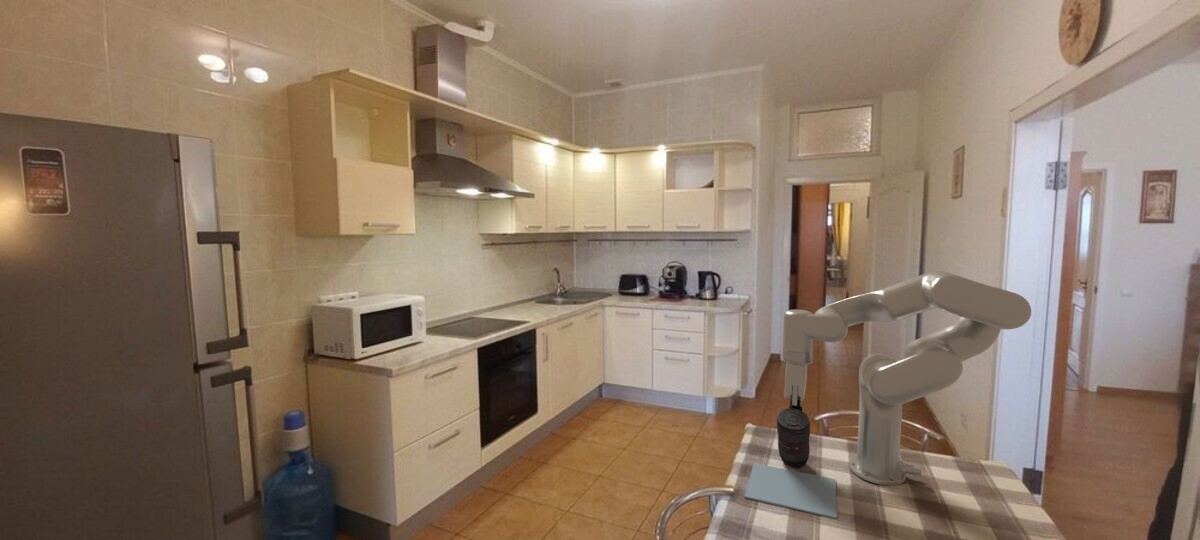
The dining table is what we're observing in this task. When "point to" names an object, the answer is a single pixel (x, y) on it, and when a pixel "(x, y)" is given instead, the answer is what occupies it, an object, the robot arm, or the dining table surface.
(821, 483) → the blue mat
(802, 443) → the camera lens
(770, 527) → the dining table surface
